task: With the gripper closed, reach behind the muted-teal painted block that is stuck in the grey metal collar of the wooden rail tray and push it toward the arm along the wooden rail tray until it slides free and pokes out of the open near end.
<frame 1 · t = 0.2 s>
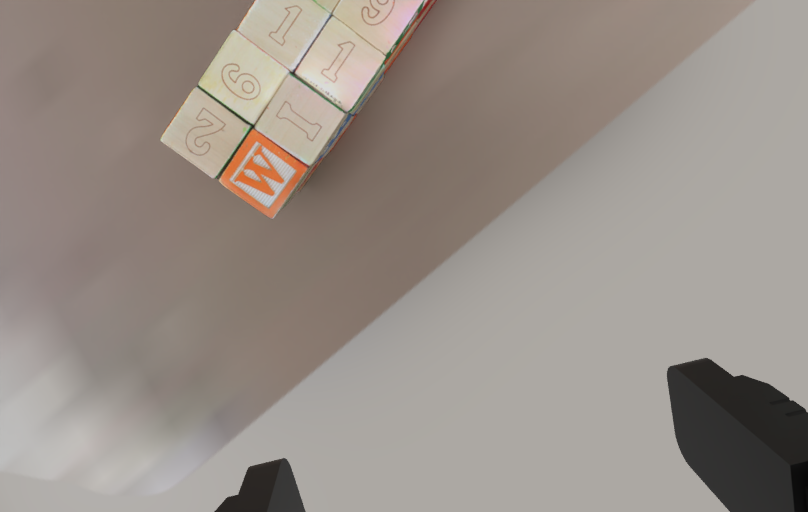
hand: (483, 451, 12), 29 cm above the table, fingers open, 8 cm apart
stack of blocks: (359, 27, 38), on the table
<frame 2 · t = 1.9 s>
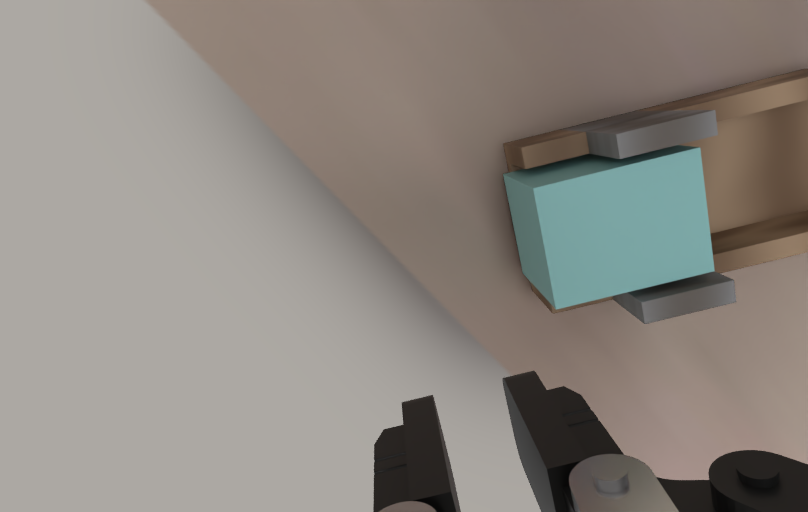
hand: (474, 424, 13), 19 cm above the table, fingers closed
block: (599, 218, 28), point 4 cm above the table, slide at 0.0 cm
wooden rail tray: (663, 183, 31), on the table
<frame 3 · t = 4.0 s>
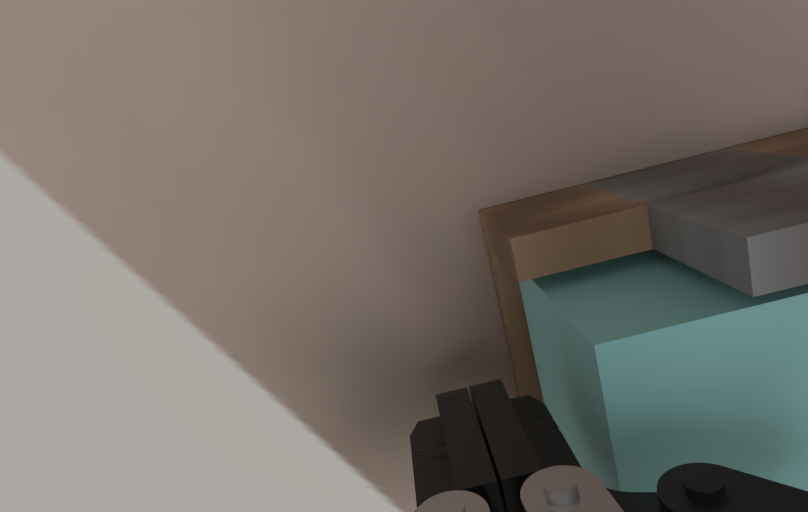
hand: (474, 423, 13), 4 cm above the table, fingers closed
block: (715, 366, 13), point 4 cm above the table, slide at 1.0 cm, touching gripper
wooden rail tray: (771, 277, 17), on the table
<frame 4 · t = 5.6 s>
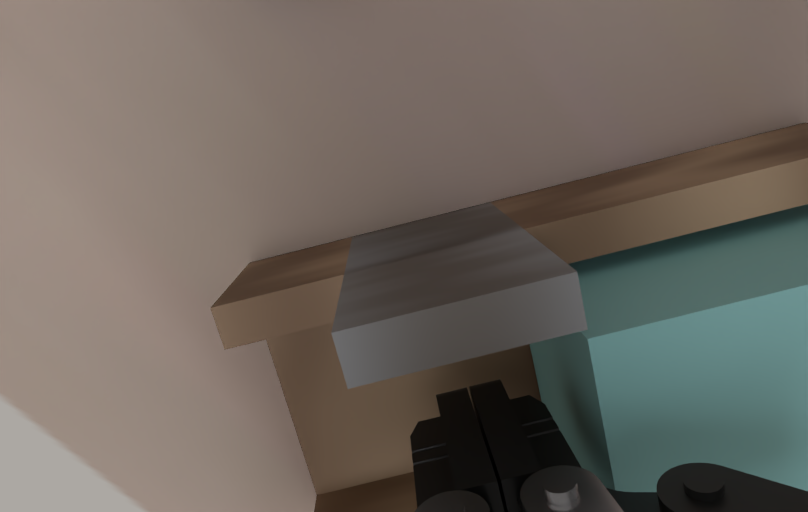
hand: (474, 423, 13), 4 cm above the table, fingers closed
block: (710, 360, 14), point 4 cm above the table, slide at 7.6 cm, touching gripper
wooden rail tray: (551, 326, 17), on the table
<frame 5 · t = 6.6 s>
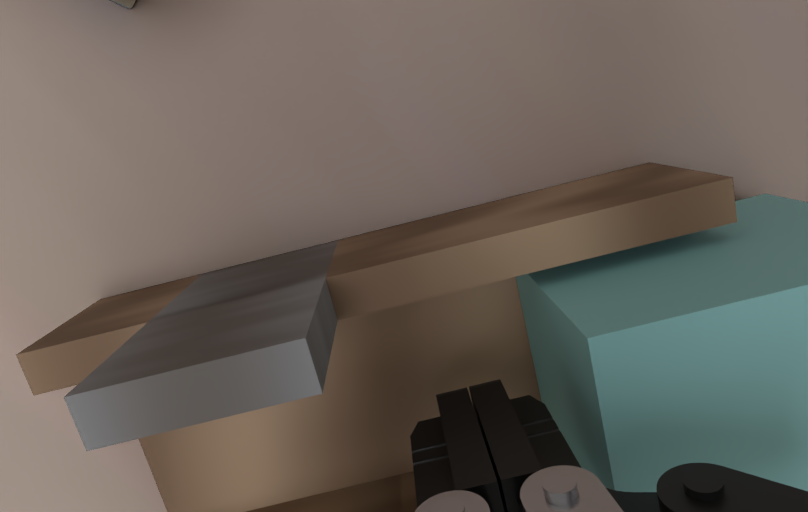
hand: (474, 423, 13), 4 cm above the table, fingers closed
block: (710, 360, 14), point 4 cm above the table, slide at 12.0 cm, touching gripper
wooden rail tray: (406, 362, 18), on the table
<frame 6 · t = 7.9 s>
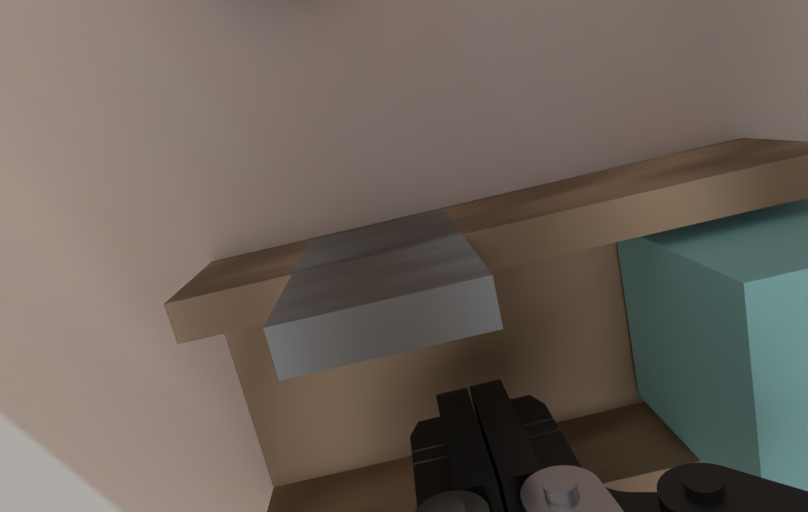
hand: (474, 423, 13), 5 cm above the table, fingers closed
wooden rail tray: (501, 328, 18), on the table
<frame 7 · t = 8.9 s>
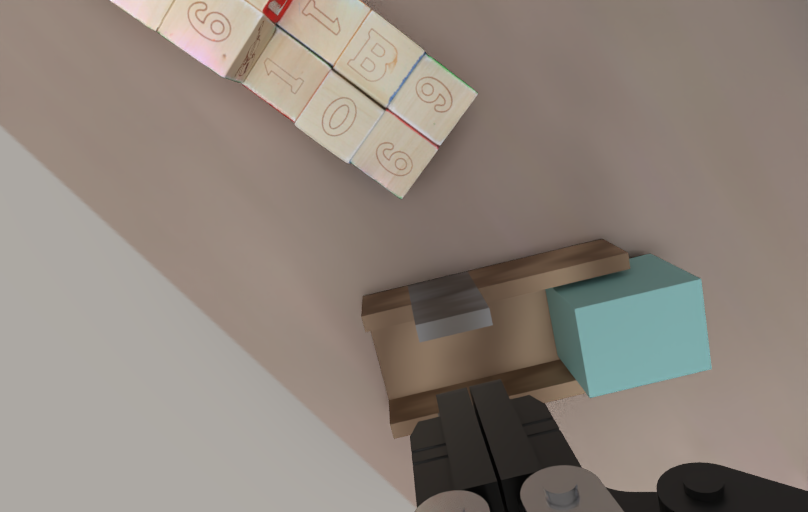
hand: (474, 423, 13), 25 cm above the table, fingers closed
block: (622, 321, 35), point 4 cm above the table, slide at 12.0 cm
wooden rail tray: (494, 325, 39), on the table
stack of blocks: (279, 32, 35), on the table
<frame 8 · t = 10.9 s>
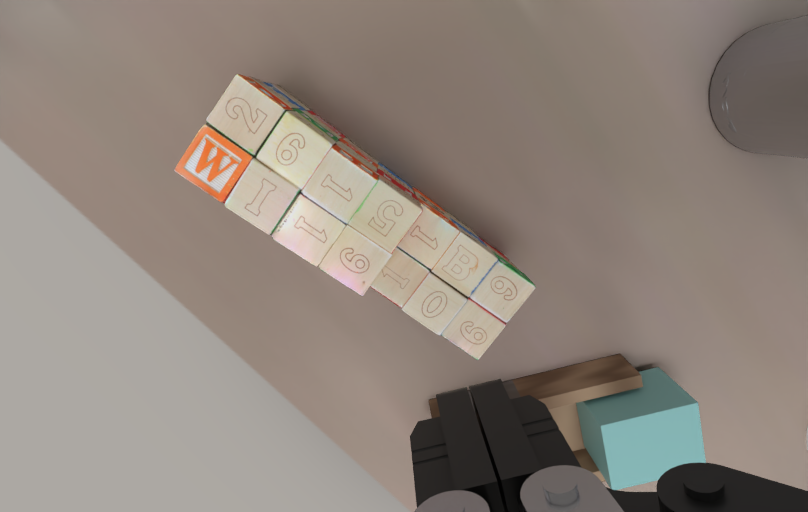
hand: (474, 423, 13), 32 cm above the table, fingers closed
block: (636, 425, 45), point 4 cm above the table, slide at 12.0 cm
wooden rail tray: (533, 420, 49), on the table
stack of blocks: (371, 205, 45), on the table
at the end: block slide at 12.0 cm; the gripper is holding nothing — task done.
